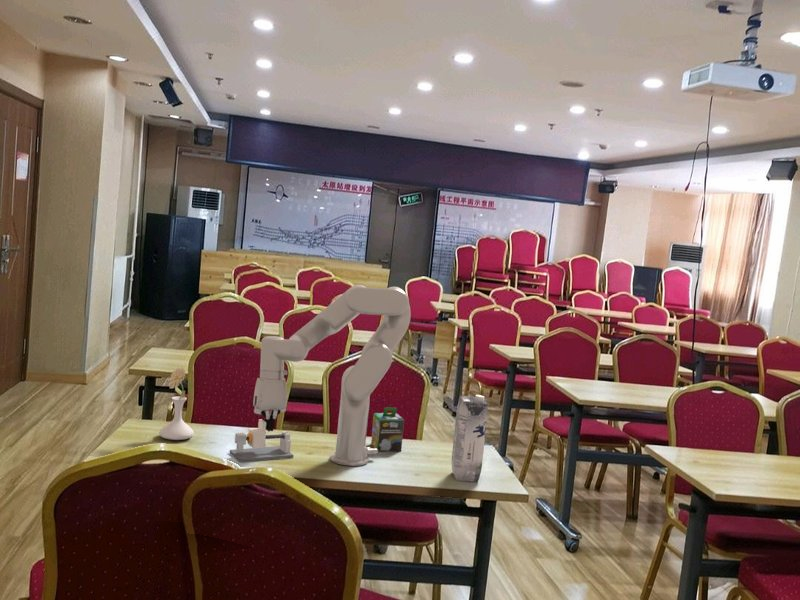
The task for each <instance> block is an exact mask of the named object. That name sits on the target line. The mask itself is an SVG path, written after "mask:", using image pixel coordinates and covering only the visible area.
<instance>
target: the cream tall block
mask: <svg viewBox="0 0 800 600" xmlns="http://www.w3.org/2000/svg"><path fill="white" fill-rule="evenodd" d="M257 424H258V427H251V428H249V427H248V431H247V432H248V433H247V434H250V433H251V434H252V438H253V439H252V443H248V442H246V445H249V446H250V448H262V447H266V440H267V439H266V435H267V430H266V422H265V419H264V420H263V419H262V418H261V419H258V423H257Z"/></svg>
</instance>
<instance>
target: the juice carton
mask: <svg viewBox="0 0 800 600" xmlns="http://www.w3.org/2000/svg"><path fill="white" fill-rule="evenodd" d="M488 412H489V411H488V403H487V402H486V401H485V396H483V395H481V394H476V395H475V396H472V395H470V396H469V395H459V398H458V403H457V406H456V414H455V425H454V431H453V432H454V433H453V442H452V443H453V445H452V452H451V453H452V454H451V471H452V474H453V475H454V478H455V480H456V481H458V482H459V481H461V482H474V483H475V482H476V483H477V482H479V480H480V477H481V473H482V467H483V461H484V460H483V458H484V450H485V444H486V443H485V440H486V432H487V423H488Z"/></svg>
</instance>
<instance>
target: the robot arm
mask: <svg viewBox="0 0 800 600" xmlns="http://www.w3.org/2000/svg"><path fill="white" fill-rule="evenodd" d="M411 313H412V311H411V306H410V299H409V296H408V295H407V293H406V292H405V291H404V290H403V289H402V288H400V287H399V286H390V287H388V288H381V287H380V288H378V287H368V286H365V285H362V284H356V285H352V286H350V288H348V289H346V291H344V292H343V293H342V294H340V296H338V298H336V299H335V300H334V301H332V302H331V303H330V304H329V305H327V306H326V307H325V308H324V309H322V310H321V311H320V312H318V314H317V315H316V316H314V317H313V319H312V318H311V320H310V321H309V322H307V323H306V324H305V325H304V326H302V327H301V328H300V329H298V330H297V331H296V332H295V333H294V334H292V335H291V336H290V337H289V339H288V338H287V339H286V338H284V337H282V336H275V335H269V336H268V335H266V336H264V337H263V338H262V340H261V344H260V347H261V348H260V366H259V367H260V368H259V370H260V371H259V377H257V378H256V381H255V386H254V394H253V400H252V401H253V407H254V409H253V413H254V414H257V415H261V416H262V417H263V418H264V421H265V422H266V432H274V428H275V425H276V424H275V423H276V419H277V417H278V415H280V414H281V413H284V412H286V411H287V406H288V405H287V404H288V391H287V390H288V388H287V384H286V383H287V382H286V381H287V380H286V378H285V375H286V376H287V375H288V370H287V369H285V361H288V362H293V363H294V362H295V363H297V362H302V361H304V360H305V359H306V358H307V356H308V354H309V351H310V350H312V349H313V348H314V347H315V346H316V345H318V344H319V343H320V342H322V341H323V340H324V339H326V338H328V337H329V336H332V335H334V334H337V333H338V332H340V331H341V330H342V329H344V327H346V326H347V325H349V324H350V323H351V322H352V321H353V320H354V319H356V317H358V316H359V315H360V314H361V315H370V316H371V315H372V316H383V319H382V321H381V323H380V324H379V326H378V327H377V328H376V331H374V333H373V335H371V337H370V338H369V339H368V341H367V342H366V343H365V345H364V346H363V348H362V351H361V355H360V357H359V358H358V360H357V361H356V362H355V364H354V365H351V366H349V367H348V368H346V369H345V371H344V372H343V373H342V374H343V375H342V377H341V384H340V385H341V387H340V388H341V390H340V400H339V413H338V421H337V422H338V423H337V432H336V433H337V434H336V442H335V443H336V444H335V452H332V453H331V454H330V461H332V463H335V464H337V465H341V466H342V465H343V466H349V467H361V466H363V465H367V464H368V463H369V460H370V459H369V456H370V455H377V454H378V452H379V451H378V450H377V448H375V447H373V448H371V447H370V446H366V442H367V441H366V440H367V432H368V430H367V429H368V420H369V413H370V411H369V410H370V399H371V398H370V397H371V394H372V393H373V392H374V390H375V389H376V388H377V386H378V385H379V383H380V381H381V380H382V379H383V378H384V376H385V374H386V373H387V372H388V370H389V369H390V367H391V365H392V362H393V352H394V351H395V349H396V348H397V347H398V345H399V344H400V342H401V340H402V339H403V337H404V336H405V334H406V333H407V330H408V329H409V326H410V323H411Z"/></svg>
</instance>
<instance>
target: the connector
mask: <svg viewBox="0 0 800 600" xmlns="http://www.w3.org/2000/svg"><path fill="white" fill-rule="evenodd" d="M246 437H247V434H246V433H244V432H235V435H234V443H235V444H236V448H235V449H236V454H238V455H243V449H244V446H245V445H247V440H246Z"/></svg>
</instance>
